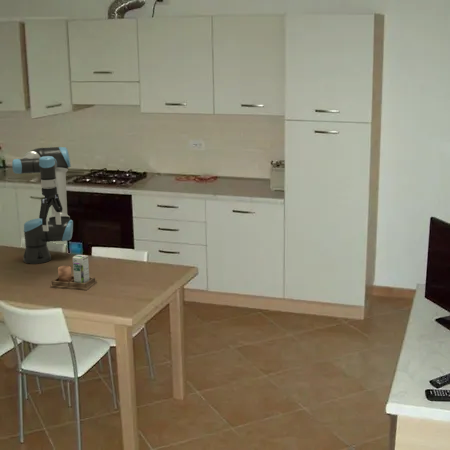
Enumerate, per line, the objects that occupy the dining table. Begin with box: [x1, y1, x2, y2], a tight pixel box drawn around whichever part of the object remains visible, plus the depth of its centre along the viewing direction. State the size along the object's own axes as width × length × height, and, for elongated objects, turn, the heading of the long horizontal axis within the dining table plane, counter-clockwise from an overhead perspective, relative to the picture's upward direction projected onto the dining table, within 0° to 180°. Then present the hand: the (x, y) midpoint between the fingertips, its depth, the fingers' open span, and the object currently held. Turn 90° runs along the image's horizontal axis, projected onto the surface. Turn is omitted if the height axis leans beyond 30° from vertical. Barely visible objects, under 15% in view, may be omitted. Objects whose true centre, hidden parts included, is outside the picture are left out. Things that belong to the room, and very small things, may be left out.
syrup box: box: [72, 254, 90, 283], centre depth 348 cm, size 6×6×14 cm
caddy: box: [49, 265, 98, 291], centre depth 350 cm, size 20×12×9 cm, turn 75°
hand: (52, 227), depth 358 cm, fingers open, 13 cm apart
